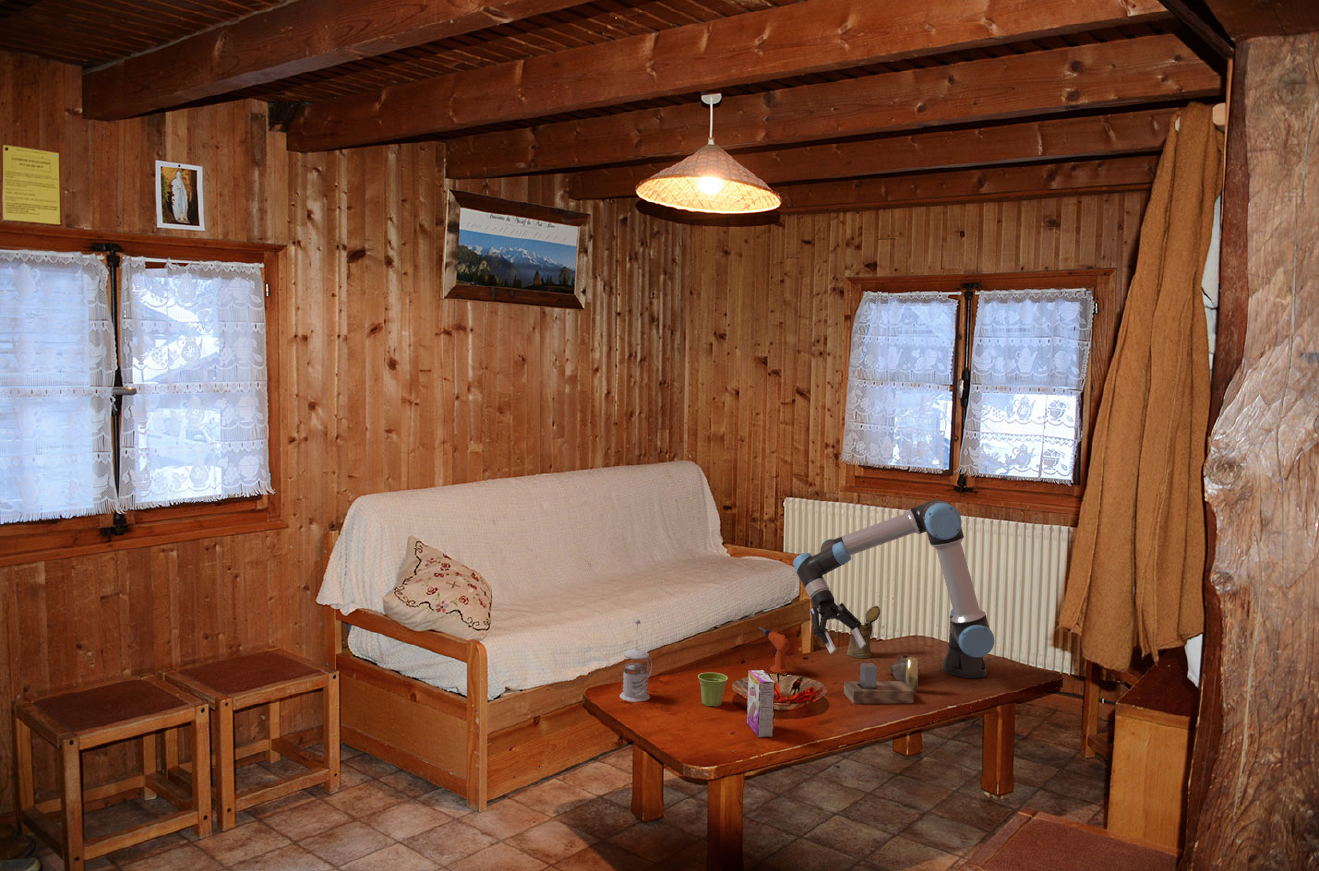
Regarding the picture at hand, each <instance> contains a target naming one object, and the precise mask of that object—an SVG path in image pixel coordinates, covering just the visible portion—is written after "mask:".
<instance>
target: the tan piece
mask: <svg viewBox="0 0 1319 871" xmlns="http://www.w3.org/2000/svg"><path fill="white" fill-rule="evenodd" d="M880 615H881V609H880V607H879V605H875V606H871V607H870V608H869V609H868V610H867V611H866V613H865V617H864V618H865V622H864V624H861V626H859V630H860V632H861V633H862V637H863V639H864V641H865V643H866V645H865V646H863V647H862V648H860V647H859V645H858V643H857V641H856V640H855V638H854V636H853V634H852V632H851V631H852V629H850V640H849V642H848V643H849V644H848V649H847V652H846V655H847V656H849V657H851V658H855V659H869V658H870V657H872V651H871V644H870V642H871V641H870V639H871V637H872V633H873V623H875V621H877V620H878V619H879V617H880ZM853 627H854V626H853Z"/></svg>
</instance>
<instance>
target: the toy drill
mask: <svg viewBox="0 0 1319 871" xmlns="http://www.w3.org/2000/svg"><path fill="white" fill-rule="evenodd" d="M758 629H759V631H762V632H763V633H764V635H765V637H767V638H768V640H769V642H770V643H771V644H772V645H773V646H774V648H775V649H776V650H775V652H774V653H773V654H774V665H773V666H770V668H769V671H770V670H771V671H772V672H780V673H788V672H789V671H788V669H787V668H786V664H785V661H786V660H785V659H786V652H787V651H789V649H790V648H791V647H790V646H791V643H790V640H789V639H788V638H787V637H786V636H785V635H784V634H781V633H778V632H777V631H772V630H769V629H767V630H766V629H765V628H763V627H762V626H759V627H758ZM772 672H771V673H772Z"/></svg>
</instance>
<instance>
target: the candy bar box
mask: <svg viewBox="0 0 1319 871" xmlns="http://www.w3.org/2000/svg"><path fill="white" fill-rule="evenodd" d="M747 676H748V677H747V678H748V679H747V710H746V712H747V713H746V725H747V726H748V727H749V728H750V729H751V730H752V731H753V733H754V734H755V735H756V737H757V738H772V737H774V716H775V714H774V712H775V686H776V682H775V681H774V680H773V679H772V677H770V675H769V674H768V673H767V672H766V671H765V670H763V669H754V670H748V675H747Z"/></svg>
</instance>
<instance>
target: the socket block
mask: <svg viewBox="0 0 1319 871" xmlns="http://www.w3.org/2000/svg"><path fill="white" fill-rule="evenodd" d="M843 683H844V684H843V695H845V697H846V698H848V700H849V701H850V702H851V703H852V704H855V705H856V704H857V705H859V704H863V705H864V704H865V705H866V704H867V705H868V704H872V705H873V704H914V699H915V698H914V695H915V693H914V691H913V690H912V689H911V688H910V687H908V686H907V685H906V684H905V683H904V682H903V681H897V680H895V681H894V680H889V681H888V680H887V681H886V680H883V681H881V680H880V681H879V680H877V681H876V689H861V688H860V680H859V681H854V680H853V681H848V680H847V681H843Z"/></svg>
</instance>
